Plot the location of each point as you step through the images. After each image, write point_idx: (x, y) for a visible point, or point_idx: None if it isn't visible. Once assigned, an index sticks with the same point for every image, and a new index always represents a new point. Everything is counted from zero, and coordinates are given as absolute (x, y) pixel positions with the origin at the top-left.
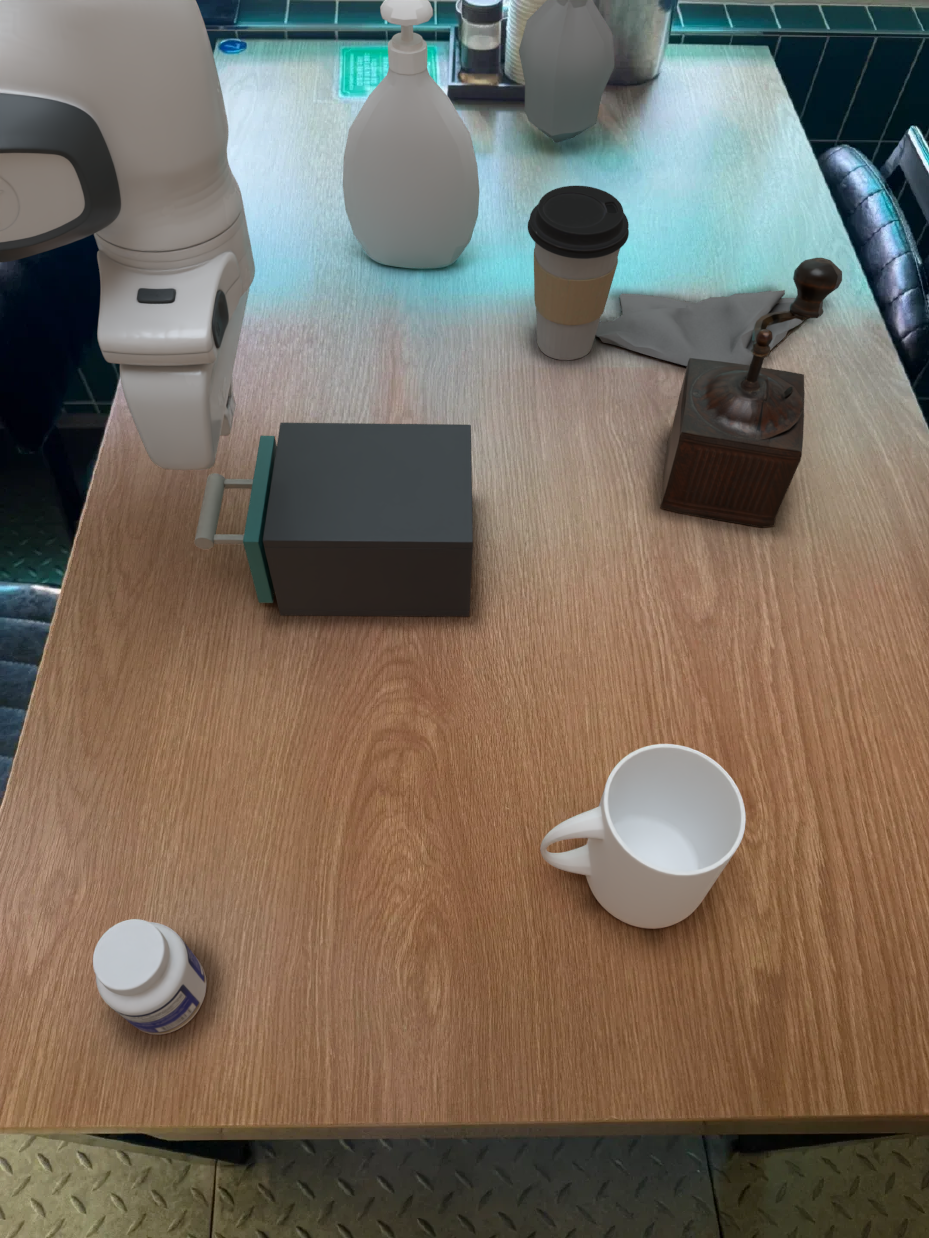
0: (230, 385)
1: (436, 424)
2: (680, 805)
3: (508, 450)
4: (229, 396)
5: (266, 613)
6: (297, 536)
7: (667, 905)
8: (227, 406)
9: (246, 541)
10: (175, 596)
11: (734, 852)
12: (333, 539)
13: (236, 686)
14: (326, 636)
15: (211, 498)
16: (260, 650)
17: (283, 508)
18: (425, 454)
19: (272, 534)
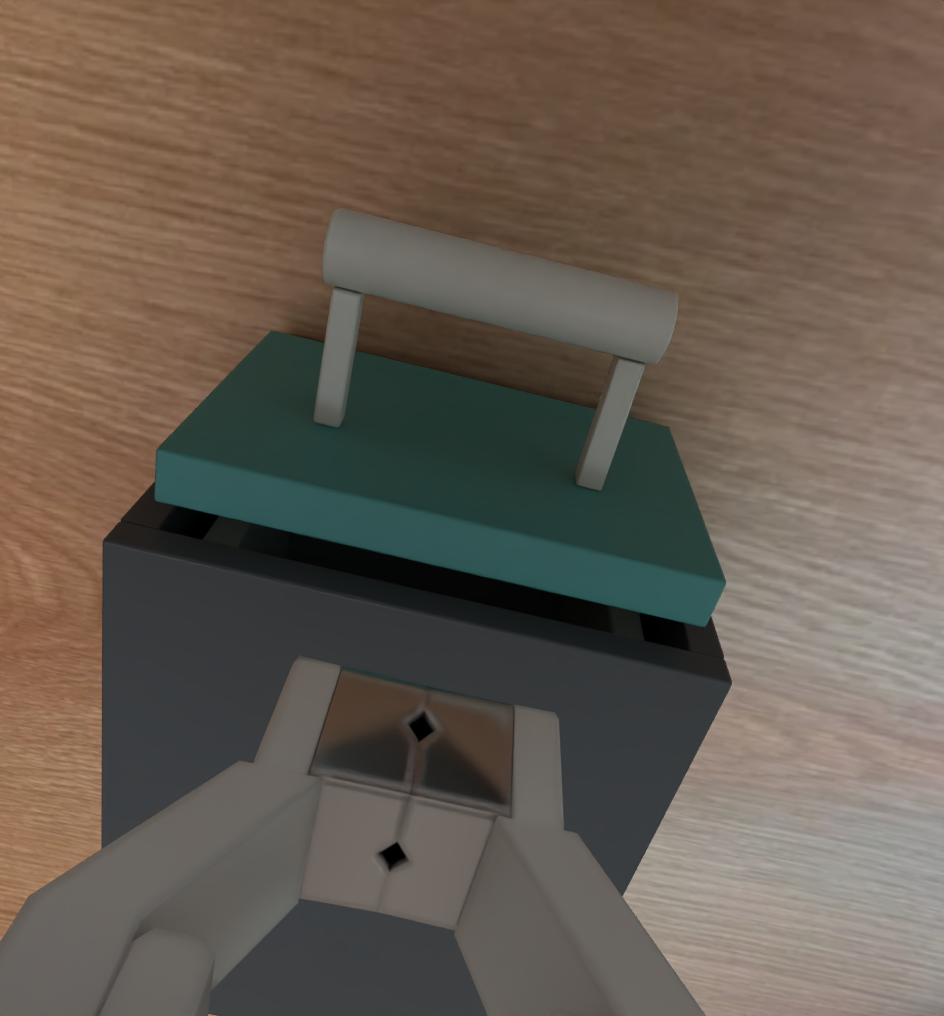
0: (486, 1003)
1: None
2: None
3: (662, 905)
4: (453, 921)
5: (266, 334)
6: (120, 646)
7: None
8: (352, 899)
9: (157, 461)
10: (367, 47)
11: None
12: (107, 736)
13: (18, 219)
14: None
15: (529, 312)
16: (139, 301)
17: (261, 625)
18: (437, 984)
19: (128, 576)
